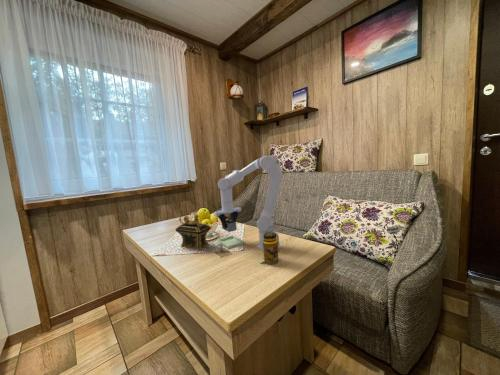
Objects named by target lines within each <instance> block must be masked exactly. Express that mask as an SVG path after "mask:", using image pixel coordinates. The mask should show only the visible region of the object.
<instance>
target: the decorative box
mask: <svg viewBox="0 0 500 375" xmlns="http://www.w3.org/2000/svg"><path fill="white" fill-rule="evenodd" d="M198 211H199V208H196V211H195V212H194V213H193V215H194V216H193V217H194V219H193V220H190V219H189V218H190V217H189V216H188V215H184V216H183V220H184V222H183V221H182V219H181V217H182V214H181V212H180V211H179V210H177V212H178V213H177V214H176V215H177V216H178V217H179V218H178V220H179V223H180V225H179V226H177V227H175V232H177V233H178V234H179V235H180V236H181V239H182V242H181V245H180V248H181V247H182V248H187V249H191V250H196V251H199V250H202V249H203V248H205V247H207V246H209V245H210V244H209V242H208V240H207V239H206V237H207V234H208V233H209V232H210V230H211V229H212V228H211V226H210V225H208V224H206V223H202V222H199V220H200V219H199V214H197V212H198Z"/></svg>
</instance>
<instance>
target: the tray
mask: <svg viewBox="0 0 500 375" xmlns="http://www.w3.org/2000/svg"><path fill="white" fill-rule="evenodd" d="M216 241H217V243H218V244H220V243H221V244H222V247H223V248H225V249H227V250H229V249H232V248H236V247H238V246H242V245H245V244H246V241H244V240H243V239H241V238H239V237H238V236H235V235H234V234H232V235H228V236H225V237H221V238H218V239H216Z"/></svg>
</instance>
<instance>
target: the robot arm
mask: <svg viewBox="0 0 500 375" xmlns="http://www.w3.org/2000/svg"><path fill="white" fill-rule="evenodd" d="M257 169H258V170H263V171H264V172H266V173H267V174H268V175H269V177H270V181H269V186H268V190H267V194H266V197H265V198H266V199H265V201H264V202H265V203H264V206H263V210H262V212H261V214H260V217H259V219H257V221H256V227H257V229H258V235H259V236H258V237H259V244H258V245H256V247H257V248H259V249H261V250H263V240H264V236H263V235H264V234H265V233H268V232H273V233H275V234H276V238H277V241H278V250H280V249H281V248H282V247H281V246H280V236H279V234H278V233H277V232H276V231H275V227H274V224H275V222H276V221H275V220H276V219H275V209H276V205H277V200H278V197H279V193H280V189H281V185H282V180H283V177H284V174H283V170H282V167H281V163H280V160H279V159H278V158H277V157H276V156H275V155H263V156H261V157H259V158H257V159H256V160H253V161H252V162H251V163H250V164H248V165H246V166H245V167H243V168H242V169H241V170H239V169H234V170H232V171H231V173H230V174H226V175H225V176H224V178H222V177H221V178H220V179H218V181H217V188H218V189H220V190H219V191H220V192H219V193H220V201H221V210H218V211H214V212H213V217H218V219H219V221H220V222H221V226H222V225H223V228H224V229H226V220H227V216H226V215H228V214H229V215H230V220H232V221H234V222H236V223H237V218H238V216H239V213H240V212H242V207H240V206H239V207H234V200H233V187H234V186H235V185H237V184H238V183H240V182H242V181H244V179H245V178H244V177H245V176H247V175H249V174H251V173H252V172H254V171H256V170H257ZM224 229H223V230H224Z"/></svg>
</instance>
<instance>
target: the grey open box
mask: <svg viewBox="0 0 500 375" xmlns="http://www.w3.org/2000/svg"><path fill="white" fill-rule="evenodd" d="M221 229H222V230H224V231H226V232H228V233H231V232H235V231H237V230H238V228H237V221H236V222H234V221H232V220H231V219H226V229H224V228H223V225H222V224H221Z"/></svg>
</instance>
